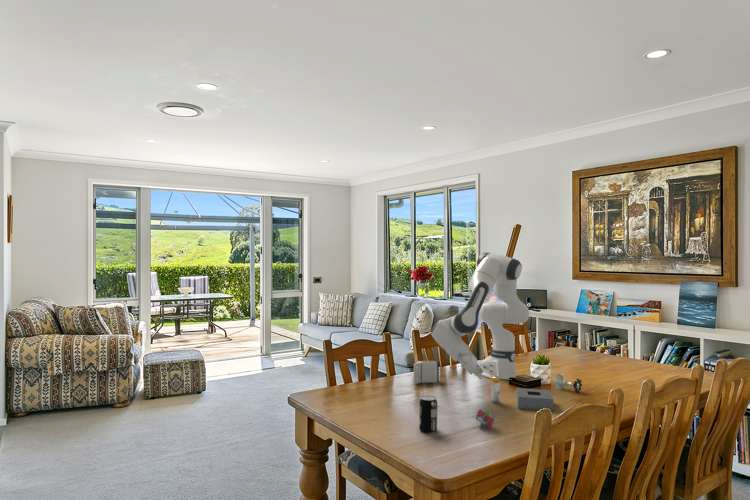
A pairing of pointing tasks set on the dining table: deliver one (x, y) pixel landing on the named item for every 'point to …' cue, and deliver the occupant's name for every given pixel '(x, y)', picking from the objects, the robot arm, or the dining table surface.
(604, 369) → the dining table surface
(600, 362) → the dining table surface
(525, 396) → the socket block
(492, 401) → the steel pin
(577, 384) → the valve
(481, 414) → the geometric puzzle
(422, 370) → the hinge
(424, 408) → the beverage can
